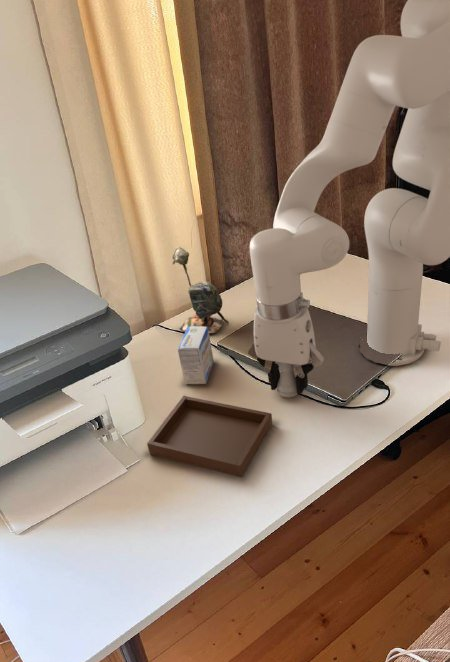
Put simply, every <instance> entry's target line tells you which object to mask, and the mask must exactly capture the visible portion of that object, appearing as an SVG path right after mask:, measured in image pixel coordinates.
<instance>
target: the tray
mask: <svg viewBox="0 0 450 662" xmlns="http://www.w3.org/2000/svg"><path fill="white" fill-rule="evenodd" d="M272 415H273V414H272V413H271V412H267V411H261V410H257V409H252V408H246V407H242V406H236V405H232V404H227V403H222V402H217V401H212V400H207V399H202V398H196V397H191V396H188V395H183V396H182V397H181V398H180V400H179V401H178V402H177V403H176V405H175V406H174V407H173V409H172V410H171V411H170V413H169V414H168V415H167V416H166V418H165V419H164V420H163V422H162V423H161V424H160V426H159V427H158V428H157V430H156V431H155V433H153V435H152V436H151V438H150V439H149V440H148V441H147V443H146V444H147V449H148V452H149V455H151V456H155V457H159V458H164V459H168V460H171V461H175V462H179V463H184V464H188V465H192V466H196V467H199V468H203V469H206V470H207V469H208V470H212V471H215V472H220V473H223V474H227V475H232V476H236V477H238V478H239V477H240V478H243V476H244V475H245V474H246V471H247V470H248V469H249V466H250V464H251V463H252V461H253V459H254V457H255V456H256V454H257V452H258V451H259V448H260V447H261V446H262V443H263V442H264V440H265V438H266V437H267V435H268V433H269V431H270V430H271V428H272V426H273V425H274V424H273V416H272Z"/></svg>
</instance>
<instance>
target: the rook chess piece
mask: <svg viewBox="0 0 450 662" xmlns="http://www.w3.org/2000/svg"><path fill="white" fill-rule="evenodd" d="M276 364H278V365H279V370H280V379H279V381H278V383H277V388H276V392H277V393H278V395H280V396H281V397H283V398H293V397H295V396H297V395H299V394H298V393H297V390H296V380H295V378H296V374H295V366H294V364H289V363H282V362H276Z"/></svg>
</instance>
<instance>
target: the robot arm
mask: <svg viewBox="0 0 450 662" xmlns="http://www.w3.org/2000/svg"><path fill="white" fill-rule="evenodd" d="M400 34H401V35H400V36H399V35H393V34H375V35H372V36H369V37H367V38H365V39H364V40H362V41H361V42H360V43H359V44H358V45H357V47H356V49H355V50H354V52H353V54H352V56H351V58H350V61H349V64H348V67H347V70H346V72H345V75H344V78H343V81H342V84H341V87H340V90H339V93H338V95H337V98H336V101H335V104H334V107H333V109H332V112H331V115H330V118H329V120H328V123H327V125H326V128H325V131H324V134H323V136H322V139H321V141H320V142H319V144H318V145H316V147H315V148H313V149H312V150H311V151H310V152H309V153H308V154H307V155H306V156H305V157H304V159H302V161H301V162H300V163H299V165H298V166H297V167H296V168H295V169H294V171H293V172H292V173H291V174H290V176H289V178H288V180H287V181H286V183H285V185H284V187H283V190H282V193H281V196H280V198H279V201H278V205H277V207H276V210H275V213H274V218H273V223H272V224H273V225H272V228H268V229H264V230H261V231H259V232H257V233H256V234H254V235H253V237H252V238H251V239H250V242H249V256H250V263H251V270H252V279H253V284H254V292H255V300H256V308H255V310H254V316H253V343H252V345H251V346H250V348H249V349H248V351H247V355H249V356H250V357H251V358H253V359H254V360H256V362H257V363H258V364H260V365H261V367H262V368H263V370H264V372H265V373H266V374H267V380H268V383H269V384H270V390H271V391H277V383H278V381H279V379H280V370H279V366H280V365H278V364H277V362H282V363H289V364H293V365H294V369H295V372H296V375H295V377H296V378H295V380H296V390H297V393H298V394H297V395H299V396H301V395H302V394H303V392H304V390H306V389H307V388H308V385H309V379H308V378H309V377H308V374H309V373H310V372H312V371H313V370H314V369H316V368H319V367H321V366H323V364H324V362H325V358H324V356H323V355H322V354H321V352H320V351H319V350H318V348H317V346H316V337H315V330H314V325H313V320H312V318H311V313H310V310H309V308H310V306H311V300H310V299H306V298H304V294H303V292H302V286H301V275H303V274H307V273H314V272H319V271H323V270H327V269H330V268H332V267H335V266H336V265H338V264H339V263H341V262H342V261H343V260H344V258H345V257H346V256H347V254H348V253H349V249H350V238H349V235H348V234H347V232H346V230H345V229H344V227H341V226H340V225H339V224H338V223H335V222H334V221H331V220H330V219H328V218H326V217H324V216H322V215H320V214H319V213H316V212H315V210H316V207H317V204H318V203H319V202H318V201H319V199H320V198H321V195H322V193H323V192H324V190H325V188H326V187H327V186H328V185H329V184H330V183H331V181H332V180H334V179H335V178H336V177H338V176H339V175H341V174H343V173H344V172H347V171H350V170H352V169H356V168H359V167H362V166H363V167H364V166H366V165H369V164H370V163H372V162H373V160H375V158H376V156H377V154H378V151H379V148H380V145H381V143H382V141H383V139H384V136H385V133H386V130H387V127H388V125H389V123H390V121H391V118H392V115H393V113H394V111H395V109H396V107H400V108H404V109H407V112H406V114H405V118H404V121H403V123H402V126H401V129H400V133H399V135H398V139H397V142H396V145H395V148H394V151H393V155H392V156H393V157H392V169H393V171H394V174H395V175H396V176H398V178H400V179H401V180H404V181H405V182H407V183H410V184H412V185H414V186H418V187H419V188H423V189H426V190H427V191H429V195H428V198H427V197H425V196H423V195H420V194H418V193H415V192H413V191H410V190H407V189H404V188H397V187H391V188H386V189H385V188H384V189H383V190H380V191H379V192H377V193H376V194H375V195H374V196H372V198H371V199H370V201H369V202H368V204H367V206H366V208H365V212H364V217H363V218H364V220H363V227H364V228H363V229H364V234H365V241H366V245H367V246H366V247H367V255H368V282H367V284H368V285H367V286H368V287H367V320H366V322H367V323H366V324H367V325H366V332H367V343H368V345H369V347H371V348H372V349H374V350H376V351H378V352H380V353H385V354H394V355H395V354H399V353H400V354H401V353H402V354H403V355H402V356H401V357H400V358H399V359H398V360H396V362H394V363H390V365H388V366H387V367H398V366H399V367H400V366H404V365H408V364H411V363H414V362H416V361H417V360H419V359H420V358H421V357H422V356H423V354H424V352H425V350H429V351H435V352H439V351H440V349H441V340H437V334H433V333H425V332H424V331H422V327H423V325H422V324H421V323H420V324H419V320H420V310H421V309H420V308H421V297H422V286H423V284H422V283H423V278H424V277H423V275H424V265H425V266H437V265H440V264H442V263H444V262H445V261H447V260H448V259H449V258H450V0H407V1H406V2H405V4H404V6H403V7H402V12H401V15H400ZM362 340H363V339H362ZM310 358H311V359H310Z"/></svg>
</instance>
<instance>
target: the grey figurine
mask: <svg viewBox="0 0 450 662" xmlns="http://www.w3.org/2000/svg"><path fill="white" fill-rule="evenodd" d="M189 256H190V253H189V252H188V251H187V250H185V249H184V248H183V247H180V246H177V247H176V248H175V250H174V251H173V255H172V263H171V265H175V264H178V265H179V266H180V265H181V266H182V267H183V270H184V273H185V274H186V277H187V282H188V286H189V287H188V290H187V292H188V295H189V299H190V302H191V305H192V309H193V311H194V314H193V316H191V317H187V318H186V320H185V321H184V322H183V323H182V325H181V326H180V327H179V330H180V331H183V332H184V333H185V332H186V329H187V327H192V326H202V327H208V330H209V334H215V333H217V332H218V331H220V329H221V327H222V326H224V324H223V323H224V322H225V323H226V324H227V325H230V321H229V320H228V319H226V318H225V317H224V315H223V313H222V312H221V310H222V308H223V298H222V295H221V294H220V292H219V290H218V289H217V288H216V287H215V285H213V283H210V282H209V281H203V282H201V281H200V282H196V283H195V284H191V279H190V276H189V274H188V269H187V264H188V262H189V258H190V257H189ZM216 314H217V315H218V316H219V317H220V318H217V317H215V316H213V315H216Z"/></svg>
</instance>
